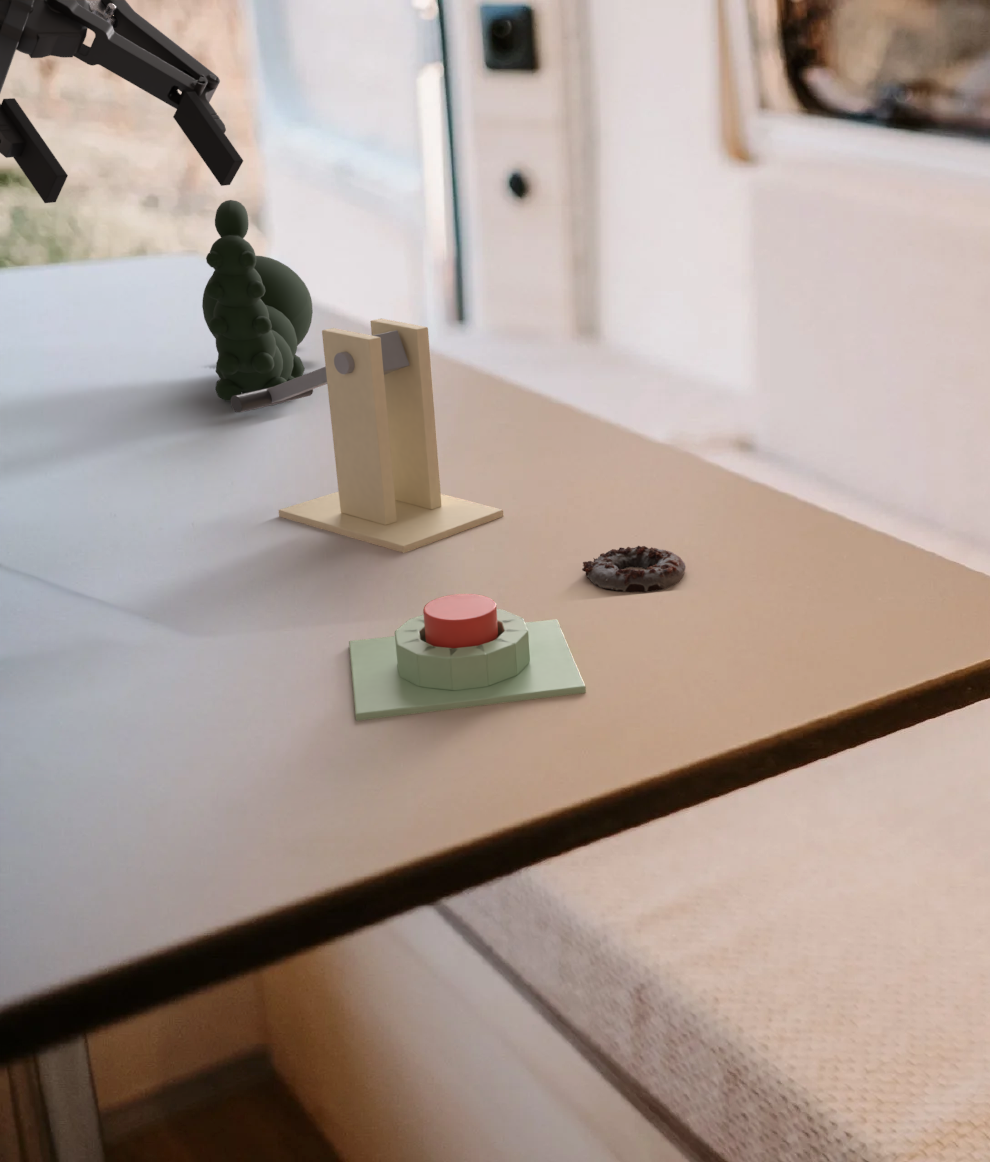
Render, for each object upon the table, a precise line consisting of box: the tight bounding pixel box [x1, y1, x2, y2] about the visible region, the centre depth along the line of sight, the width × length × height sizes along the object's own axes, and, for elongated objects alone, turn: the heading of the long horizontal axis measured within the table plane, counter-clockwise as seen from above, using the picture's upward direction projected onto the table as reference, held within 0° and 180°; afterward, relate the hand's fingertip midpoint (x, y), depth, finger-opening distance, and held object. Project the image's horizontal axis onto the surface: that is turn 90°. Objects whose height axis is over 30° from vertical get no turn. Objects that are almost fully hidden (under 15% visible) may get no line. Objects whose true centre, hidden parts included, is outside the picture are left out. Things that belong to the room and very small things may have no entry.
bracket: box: [278, 318, 504, 554], centre depth 98 cm, size 12×9×14 cm
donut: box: [581, 545, 686, 593], centre depth 91 cm, size 8×8×2 cm
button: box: [422, 593, 498, 648], centre depth 75 cm, size 4×4×2 cm
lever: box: [230, 330, 409, 414], centre depth 99 cm, size 14×6×2 cm, turn 59°
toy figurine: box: [201, 199, 314, 402], centre depth 130 cm, size 9×19×25 cm
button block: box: [348, 608, 587, 722], centre depth 76 cm, size 11×9×4 cm
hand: (149, 181), depth 103 cm, fingers open, 13 cm apart
